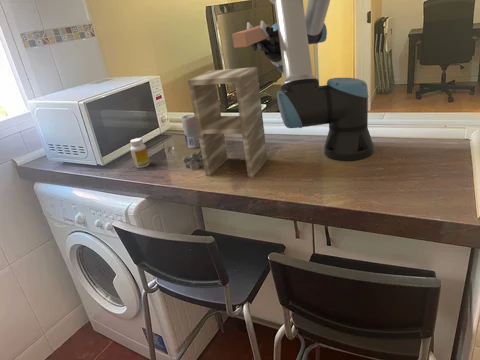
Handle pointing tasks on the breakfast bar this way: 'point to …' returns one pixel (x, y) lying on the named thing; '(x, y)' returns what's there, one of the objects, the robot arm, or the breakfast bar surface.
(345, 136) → the robot arm
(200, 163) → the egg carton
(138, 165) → the supplement bottle
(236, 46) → the bar
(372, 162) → the breakfast bar surface
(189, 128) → the energy drink
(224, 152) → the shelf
